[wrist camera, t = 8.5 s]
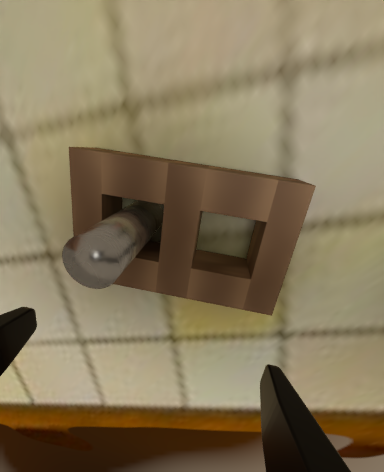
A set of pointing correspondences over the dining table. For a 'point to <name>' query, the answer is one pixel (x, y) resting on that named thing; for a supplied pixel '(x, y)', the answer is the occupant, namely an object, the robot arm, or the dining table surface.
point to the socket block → (195, 224)
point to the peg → (111, 244)
